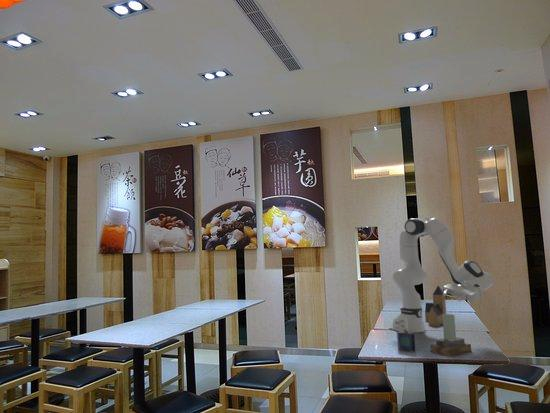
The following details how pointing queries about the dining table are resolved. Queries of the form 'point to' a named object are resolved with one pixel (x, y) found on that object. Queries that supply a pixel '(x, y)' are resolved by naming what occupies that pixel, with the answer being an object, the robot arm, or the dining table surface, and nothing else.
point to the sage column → (449, 326)
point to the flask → (406, 341)
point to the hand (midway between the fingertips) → (450, 296)
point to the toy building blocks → (436, 308)
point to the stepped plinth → (450, 347)
